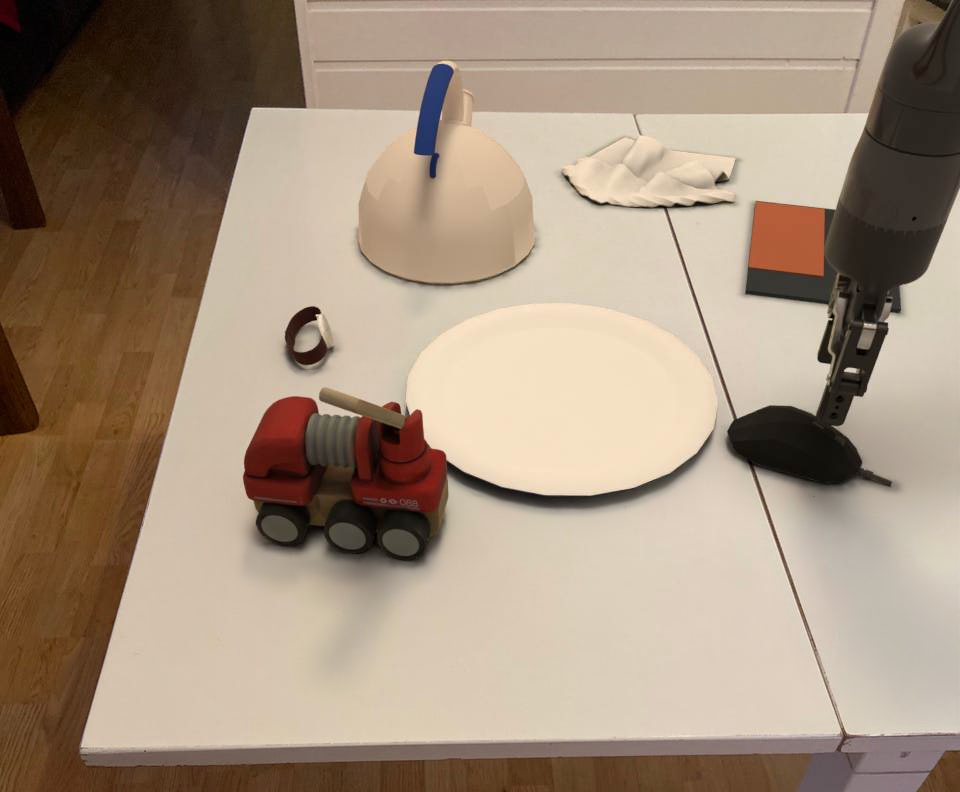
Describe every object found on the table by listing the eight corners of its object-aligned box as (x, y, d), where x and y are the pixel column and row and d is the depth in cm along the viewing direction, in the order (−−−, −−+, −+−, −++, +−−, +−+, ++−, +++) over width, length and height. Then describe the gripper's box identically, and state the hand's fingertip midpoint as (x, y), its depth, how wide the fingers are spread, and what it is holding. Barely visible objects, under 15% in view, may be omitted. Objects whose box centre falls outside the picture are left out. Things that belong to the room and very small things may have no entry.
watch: (335, 368, 94) (330, 336, 92) (286, 372, 94) (280, 340, 91) (333, 324, 99) (328, 292, 96) (287, 327, 99) (281, 295, 96)
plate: (366, 351, 96) (364, 336, 95) (626, 291, 103) (628, 277, 102) (473, 545, 79) (473, 531, 78) (776, 458, 86) (781, 443, 85)
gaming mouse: (882, 507, 82) (898, 471, 79) (716, 454, 86) (725, 418, 83) (898, 464, 86) (914, 428, 82) (738, 415, 90) (747, 379, 87)
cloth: (538, 175, 120) (539, 155, 118) (658, 124, 129) (661, 105, 127) (659, 239, 110) (662, 218, 108) (780, 179, 119) (785, 159, 117)
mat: (893, 219, 113) (894, 214, 112) (900, 312, 101) (901, 308, 100) (755, 203, 115) (756, 199, 115) (745, 293, 103) (746, 288, 102)
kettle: (546, 201, 115) (556, 32, 101) (520, 294, 103) (527, 117, 89) (382, 186, 118) (369, 20, 104) (337, 276, 105) (315, 100, 91)
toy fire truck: (280, 475, 85) (241, 293, 71) (454, 495, 83) (449, 313, 69) (238, 568, 78) (186, 386, 64) (427, 592, 76) (415, 411, 62)
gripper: (959, 258, 63) (877, 452, 75) (944, 160, 71) (873, 348, 84) (841, 243, 64) (779, 437, 76) (840, 148, 72) (785, 336, 85)
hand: (828, 390), depth 80 cm, fingers open, 8 cm apart
